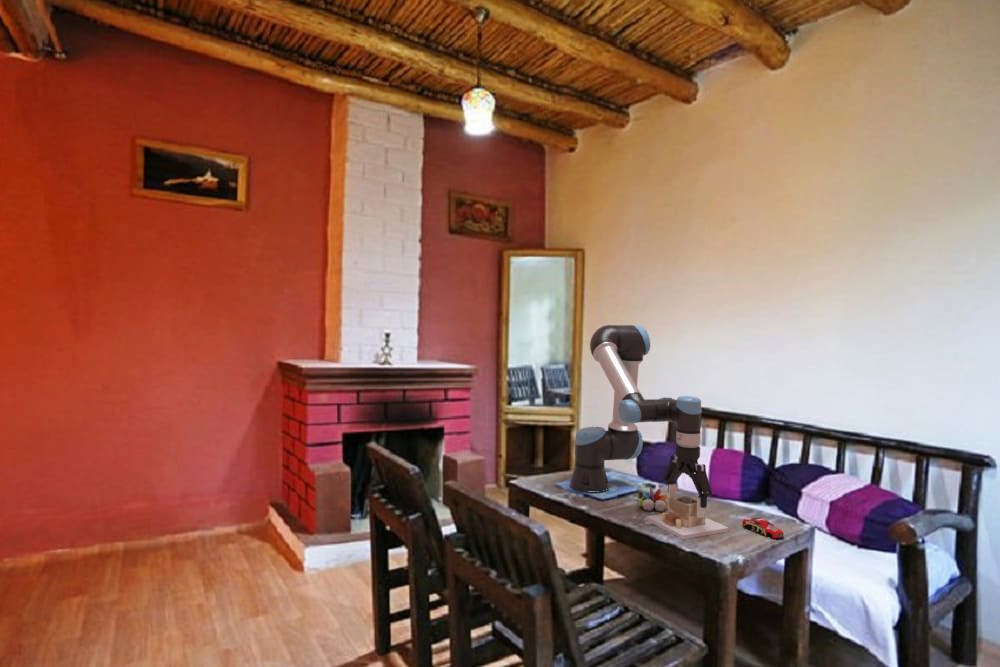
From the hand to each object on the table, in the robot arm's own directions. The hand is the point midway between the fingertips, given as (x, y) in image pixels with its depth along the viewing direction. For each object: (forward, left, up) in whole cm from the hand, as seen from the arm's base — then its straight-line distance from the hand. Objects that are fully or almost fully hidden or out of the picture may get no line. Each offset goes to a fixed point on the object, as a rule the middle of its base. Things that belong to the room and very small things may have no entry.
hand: (686, 510), depth 183 cm
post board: (0, 0, -5) cm, 5 cm away
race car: (+13, +19, -5) cm, 24 cm away
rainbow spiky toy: (-18, +1, -5) cm, 18 cm away
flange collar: (0, -2, -4) cm, 4 cm away
